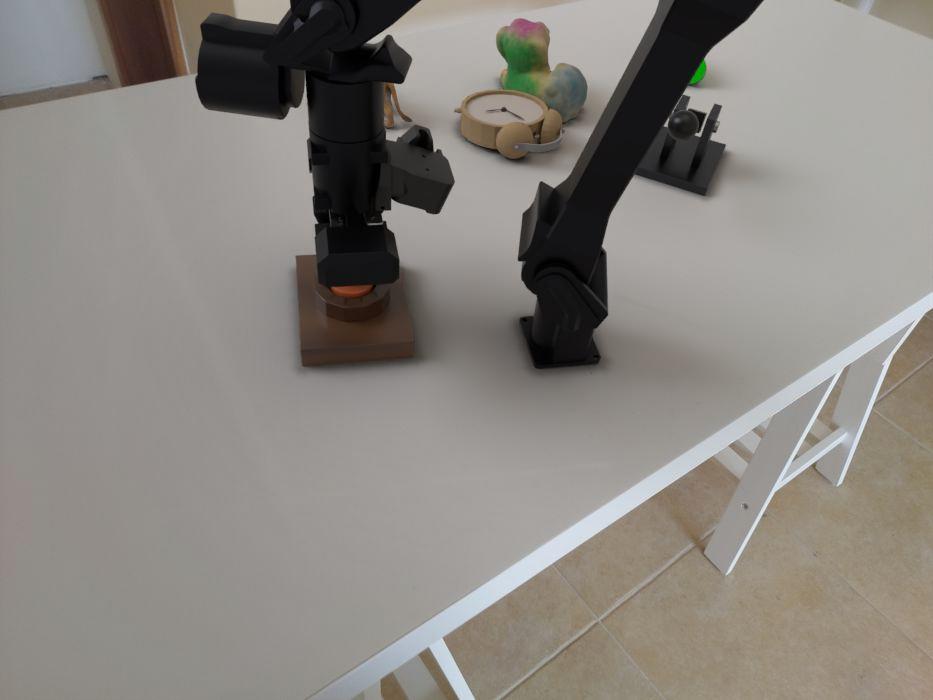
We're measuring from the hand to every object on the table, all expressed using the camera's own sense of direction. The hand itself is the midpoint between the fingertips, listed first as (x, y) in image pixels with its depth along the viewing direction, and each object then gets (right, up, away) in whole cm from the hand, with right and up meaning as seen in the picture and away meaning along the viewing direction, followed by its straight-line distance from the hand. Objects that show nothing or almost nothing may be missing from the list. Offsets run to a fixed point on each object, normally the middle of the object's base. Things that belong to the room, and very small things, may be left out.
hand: (352, 279), depth 68 cm
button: (0, -1, +1) cm, 2 cm away
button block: (0, -3, +3) cm, 4 cm away
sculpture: (+20, +29, +36) cm, 50 cm away
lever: (+36, +18, +18) cm, 44 cm away
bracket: (+38, +18, +28) cm, 50 cm away
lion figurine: (-4, +25, +30) cm, 39 cm away
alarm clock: (+16, +21, +28) cm, 39 cm away
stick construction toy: (+43, +37, +47) cm, 74 cm away
